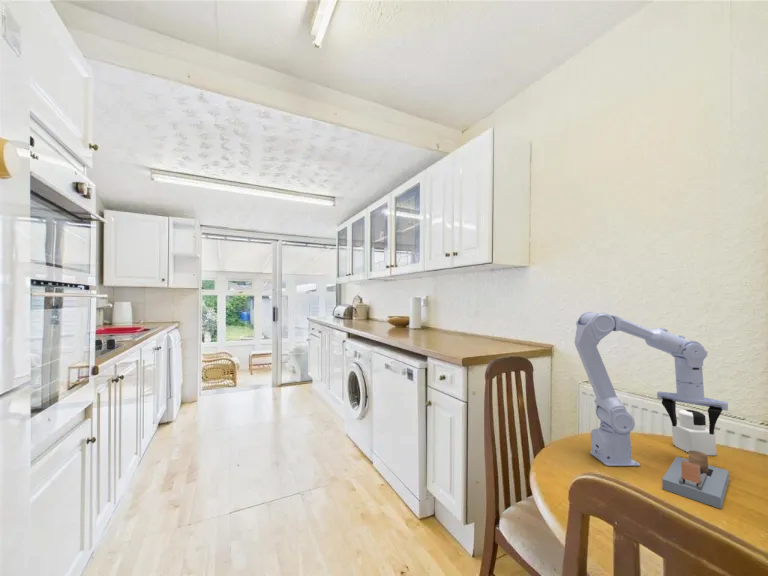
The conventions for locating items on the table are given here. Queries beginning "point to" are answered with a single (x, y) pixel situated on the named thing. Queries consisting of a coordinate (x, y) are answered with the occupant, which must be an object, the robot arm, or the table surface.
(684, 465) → the bar
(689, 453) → the brown wooden block
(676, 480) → the mount board
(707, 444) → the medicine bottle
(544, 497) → the table surface
